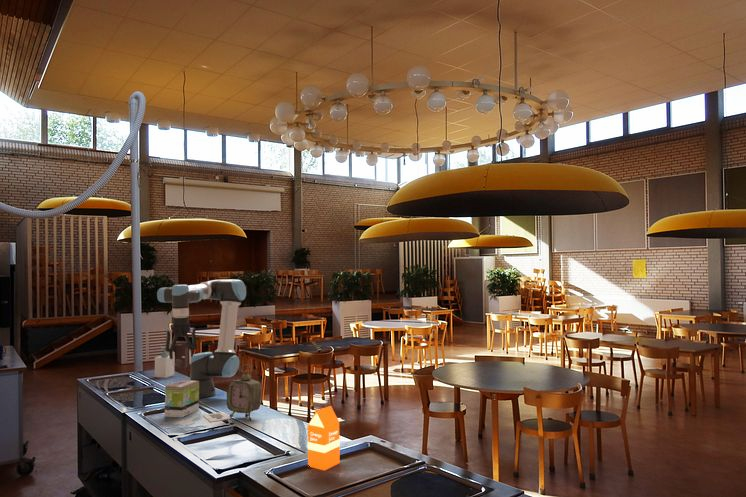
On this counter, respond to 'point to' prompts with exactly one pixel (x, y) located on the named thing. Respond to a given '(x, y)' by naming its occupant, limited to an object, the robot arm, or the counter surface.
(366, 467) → the counter surface
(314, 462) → the orange juice
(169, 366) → the soap bottle
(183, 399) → the tea box
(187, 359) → the box
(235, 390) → the tabletop clock
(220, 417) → the card
